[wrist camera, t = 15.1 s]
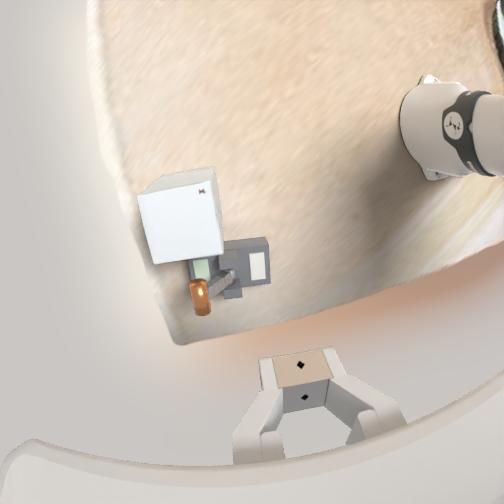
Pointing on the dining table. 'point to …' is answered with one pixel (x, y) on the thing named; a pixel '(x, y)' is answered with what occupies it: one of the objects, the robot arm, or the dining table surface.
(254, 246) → the breaker housing
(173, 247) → the supplement box
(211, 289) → the breaker lever
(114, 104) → the dining table surface
